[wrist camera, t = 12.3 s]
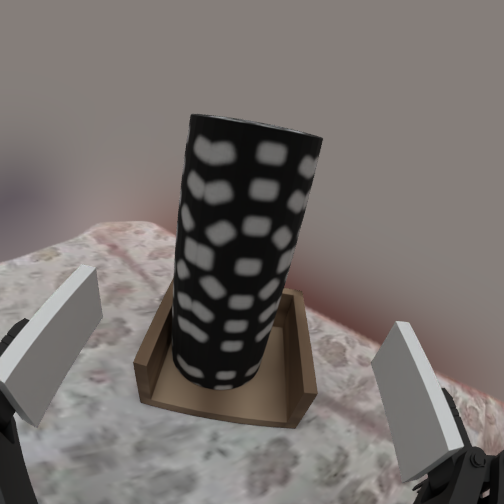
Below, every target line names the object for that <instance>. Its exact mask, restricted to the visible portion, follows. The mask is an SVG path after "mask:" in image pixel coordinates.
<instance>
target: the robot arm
mask: <svg viewBox="0 0 504 504" xmlns="http://www.w3.org/2000/svg"><path fill="white" fill-rule="evenodd" d="M102 318H103V314H102V308H101V301H100V295H99V288H98V280H97V272H96V268H95V267H91V266H87V265H83V264H82V265H81V266H80V267H79V268H78V269H77V270H76V271H75V272H74V273H73V274H72V275H71V276H70V277H69V278H68V279H67V280H66V281H65V282H64V283H63V284H62V285H61V286H60V287H59V288H58V289H57V290H56V291H55V292H54V294H53V295H52V296H51V297H50V298H49V299H48V300H47V301H46V302H45V303H44V305H43V306H42V307H41V308H40V309H39V310H38V311H37V313H36V314H35V315H34V316H33V317H32V318H31V319H30V320H28V319H26V318H24V319H23V320H21V321H19V322H18V323H16V324H15V325H14V326H13V327H12V328H11V329H10V331H9V332H8V333H7V335H5V337H4V338H3V339H2V340H1V342H0V504H38V502H37V499H36V497H35V494H34V491H33V488H32V485H31V482H30V479H29V476H28V473H27V469H26V466H25V462H24V458H23V454H22V450H21V446H20V442H19V437H18V433H17V428H16V422H15V419H14V417H13V415H14V413H15V411H16V412H17V413H18V415H19V416H20V417H21V419H23V420H24V421H26V422H27V423H29V424H31V425H33V426H34V427H36V428H37V427H38V425H39V424H40V422H41V420H42V418H43V416H44V414H45V412H46V410H47V408H48V406H49V405H50V403H51V401H52V399H53V397H54V396H55V394H56V392H57V390H58V388H59V387H60V385H61V383H62V381H63V380H64V378H65V376H66V375H67V373H68V371H69V370H70V368H71V366H72V365H73V363H74V361H75V360H76V358H77V356H78V355H79V353H80V352H81V350H82V348H83V347H84V345H85V344H86V342H87V341H88V339H89V337H90V336H91V334H92V333H93V331H94V330H95V328H96V327H97V325H98V324H99V322H100V321H101V319H102ZM371 365H372V368H373V371H374V375H375V378H376V381H377V384H378V388H379V391H380V395H381V398H382V402H383V405H384V409H385V412H386V416H387V420H388V423H389V427H390V431H391V435H392V439H393V443H394V447H395V451H396V456H397V460H398V465H399V469H400V474H401V479H402V483H405V482H409V481H413V480H417V479H419V478H421V477H422V476H424V475H425V474H428V478H427V479H426V480H424V481H423V482H421V483H419V484H418V485H416V486H415V487H414V488H413V489H412V490H413V491H415V490H416V489H418V488H420V487H421V489H420V490H418V491H417V493H418V495H417V497H416V499H415V501H414V503H413V504H504V450H503V451H502V452H500V453H499V454H498V455H497V456H492V455H486V454H485V453H484V451H483V450H482V449H481V448H479V447H472V445H471V443H470V440H469V438H468V435H467V432H466V430H465V427H464V425H463V422H462V420H461V417H459V412H458V410H457V409H456V405H455V403H454V401H453V398H452V396H451V395H450V394H449V393H448V392H447V390H446V389H445V388H441V387H440V385H439V383H438V380H437V378H436V376H435V374H434V372H433V369H432V367H431V365H430V363H429V361H428V359H427V357H426V355H425V353H424V351H423V349H422V347H421V345H420V343H419V341H418V339H417V337H416V335H415V333H414V331H413V330H412V327H411V326H410V324H409V322H399V321H396V322H395V324H394V325H393V327H392V329H391V330H390V332H389V334H388V336H387V337H386V339H385V341H384V342H383V344H382V346H381V347H380V349H379V351H378V352H377V354H376V356H375V357H374V359H373V360H372V362H371ZM489 489H490V493H489V495H488V496H486V497H485V498H483V496H482V494H483V493H484V492H485V491H487V490H489Z"/></svg>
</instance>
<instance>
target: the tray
mask: <svg viewBox="0 0 504 504" xmlns="http://www.w3.org/2000/svg"><path fill="white" fill-rule="evenodd" d="M173 280H174V278H173ZM173 280H172V282H171V284H170V286H169V288H168V290H167V292H166V294H165V296H164V298H163V300H162V302H161V304H160V306H159V308H158V310H157V312H156V314H155V316H154V318H153V321H152V323H151V325H150V327H149V329H148V331H147V333H146V335H145V338H144V340H143V342H142V344H141V346H140V348H139V351H138V353H137V355H136V357H135V359H134V362H133V364H134V370H135V376H136V381H137V386H138V392H139V397H140V401H141V403H144V404H148V405H152V406H155V407H159V408H163V409H167V410H171V411H176V412H180V413H185V414H189V415H194V416H199V417H204V418H210V419H216V420H222V421H228V422H235V423H242V424H250V425H259V426H269V427H281V428H296V427H297V425H298V424H299V422H300V421H301V419H302V418H303V416H304V415H305V413H306V411H307V410H308V408H309V407H310V405H311V404H312V402H313V400H314V399H315V397H316V396H317V394H318V392H317V385H316V378H315V370H314V363H313V357H312V350H311V343H310V337H309V330H308V324H307V318H306V312H305V306H304V300H303V294H302V291H298V290H292V289H286V288H284V289H283V292H282V296H281V299H280V303H279V306H278V309H277V313H276V316H275V319H274V322H273V326H272V329H271V332H270V335H269V339H268V342H267V345H266V348H265V351H264V354H263V357H262V361H261V364H260V367H259V369H258V372H257V373H256V375H255V376H254V377H253V378H252V379H251V380H250V381H249V382H248V383H246V384H244V385H242V386H240V387H236V388H233V389H226V390H215V389H209V388H204V387H202V386H199V385H196V384H194V383H193V382H191V381H189V380H188V379H186V378H185V377H184V376H183V375H182V374H181V373H180V372H179V371H178V369H177V368H176V366H175V364H174V362H173V358H172V305H173Z"/></svg>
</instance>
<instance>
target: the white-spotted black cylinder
mask: <svg viewBox="0 0 504 504" xmlns="http://www.w3.org/2000/svg"><path fill="white" fill-rule="evenodd" d="M322 141H323V138H321V137H318V136H315V135H311V134H307V133H304V132H300V131H296V130H292V129H288V128H283V127H279V126H274V125H269V124H264V123H259V122H253V121H247V120H242V119H235V118H228V117H220V116H212V115H202V114H191V117H190V123H189V130H188V136H187V143H186V151H185V158H184V166H183V175H182V183H181V191H180V200H179V211H178V221H177V233H176V247H175V262H174V280H173V305H172V358H173V362H174V364H175V366H176V368H177V369H178V371H179V372H180V373H181V374H182V375H183V376H184V377H185V378H186V379H188V380H189V381H191V382H193V383H194V384H196V385H199V386H202V387H204V388H209V389H215V390H226V389H233V388H236V387H240V386H242V385H244V384H246V383H248V382H249V381H250V380H251V379H252V378H253V377H254V376H255V375H256V373H257V372H258V369H259V367H260V364H261V361H262V357H263V354H264V351H265V348H266V345H267V342H268V339H269V335H270V332H271V329H272V326H273V322H274V319H275V316H276V313H277V309H278V306H279V303H280V299H281V296H282V292H283V289H284V285H285V282H286V279H287V275H288V272H289V268H290V265H291V261H292V258H293V254H294V250H295V247H296V243H297V239H298V236H299V232H300V228H301V225H302V221H303V217H304V213H305V209H306V206H307V202H308V198H309V194H310V190H311V186H312V182H313V178H314V174H315V170H316V166H317V162H318V157H319V153H320V149H321V145H322Z"/></svg>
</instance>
